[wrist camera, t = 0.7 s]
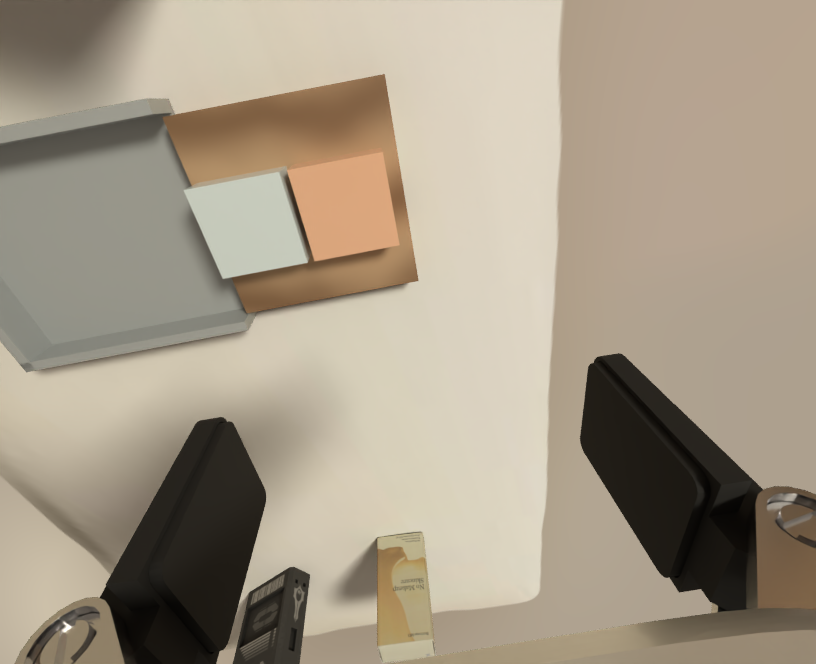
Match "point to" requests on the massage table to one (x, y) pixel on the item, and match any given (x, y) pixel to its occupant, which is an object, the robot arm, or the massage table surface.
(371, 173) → the terracotta tile
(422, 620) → the skincare box
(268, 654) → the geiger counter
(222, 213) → the pale blue tile
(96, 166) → the grey tray
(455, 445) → the massage table surface
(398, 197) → the walnut plate
